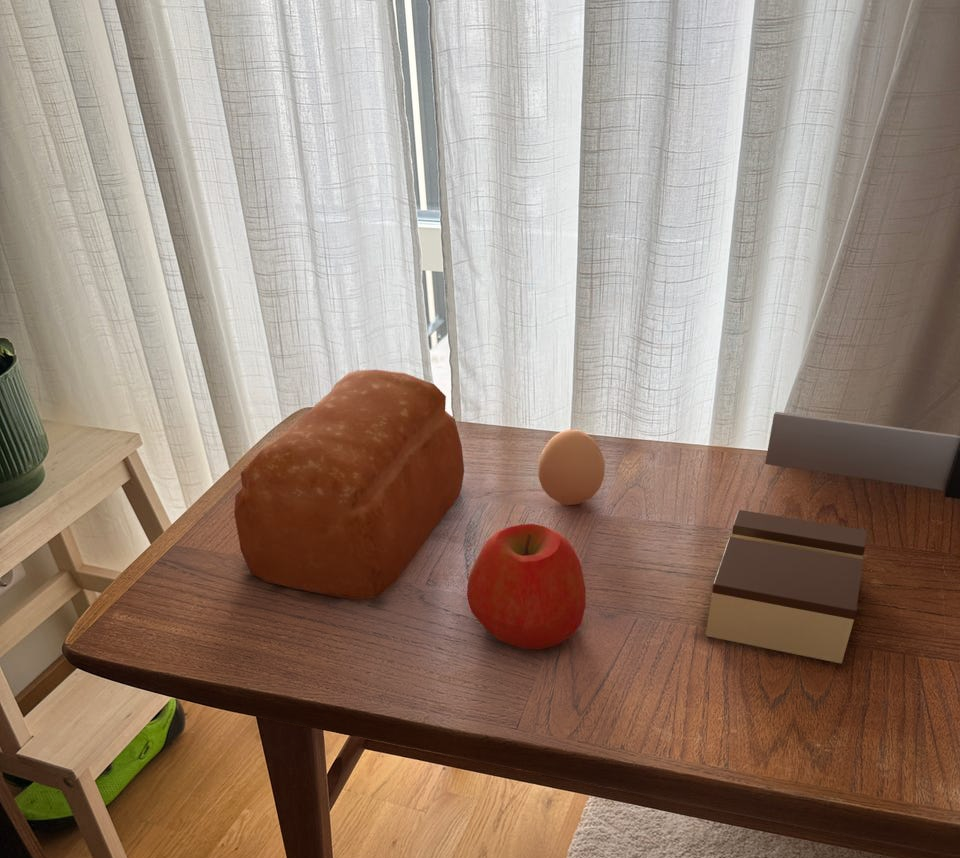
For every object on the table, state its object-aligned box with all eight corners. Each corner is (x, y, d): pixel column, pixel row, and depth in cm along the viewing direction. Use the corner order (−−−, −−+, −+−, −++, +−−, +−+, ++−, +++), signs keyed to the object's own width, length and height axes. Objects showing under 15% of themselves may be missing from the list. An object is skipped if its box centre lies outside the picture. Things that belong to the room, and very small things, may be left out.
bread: (235, 579, 95) (201, 450, 85) (343, 466, 112) (325, 349, 103) (384, 610, 90) (365, 477, 80) (473, 487, 107) (467, 366, 98)
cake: (849, 611, 87) (863, 559, 83) (841, 664, 81) (856, 610, 77) (721, 587, 90) (729, 536, 87) (705, 636, 85) (713, 584, 81)
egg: (553, 479, 108) (554, 412, 102) (612, 491, 105) (616, 423, 100) (527, 509, 103) (526, 441, 97) (588, 523, 100) (591, 453, 95)
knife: (1034, 495, 77) (1070, 407, 72) (1036, 510, 75) (1072, 421, 70) (767, 456, 84) (782, 373, 79) (763, 469, 82) (778, 385, 77)
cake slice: (853, 581, 90) (867, 530, 86) (851, 598, 88) (865, 547, 84) (730, 559, 94) (738, 509, 90) (725, 575, 92) (733, 525, 88)
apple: (457, 655, 84) (450, 560, 77) (488, 586, 92) (483, 494, 85) (573, 672, 82) (576, 575, 75) (594, 600, 90) (598, 506, 83)
